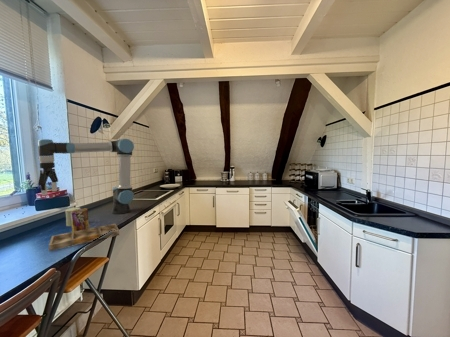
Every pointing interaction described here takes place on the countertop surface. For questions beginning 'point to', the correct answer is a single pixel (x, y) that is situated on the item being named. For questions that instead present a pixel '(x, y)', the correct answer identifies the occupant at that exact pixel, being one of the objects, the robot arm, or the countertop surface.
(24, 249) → the countertop surface
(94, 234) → the rack
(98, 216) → the countertop surface
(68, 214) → the can
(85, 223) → the candy box
